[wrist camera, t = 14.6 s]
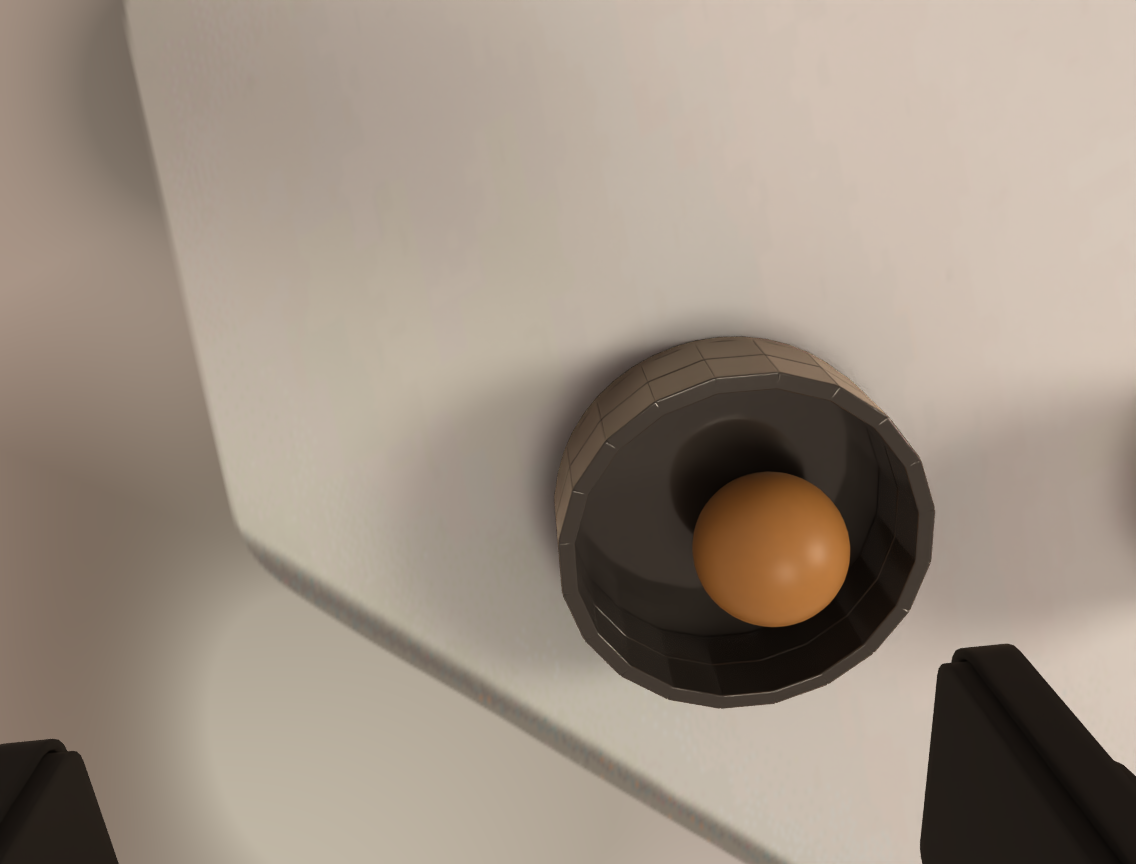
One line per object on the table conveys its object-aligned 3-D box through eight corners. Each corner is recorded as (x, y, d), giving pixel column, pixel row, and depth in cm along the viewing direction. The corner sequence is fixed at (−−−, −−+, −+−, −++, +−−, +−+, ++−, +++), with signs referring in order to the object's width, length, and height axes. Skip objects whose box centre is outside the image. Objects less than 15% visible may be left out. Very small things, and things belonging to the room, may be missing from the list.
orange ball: (662, 583, 37) (742, 680, 33) (666, 466, 34) (755, 555, 30) (780, 543, 39) (871, 629, 35) (794, 428, 36) (895, 506, 32)
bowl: (567, 652, 40) (573, 722, 35) (541, 351, 35) (544, 391, 30) (878, 624, 40) (921, 691, 36) (896, 321, 35) (948, 357, 31)
